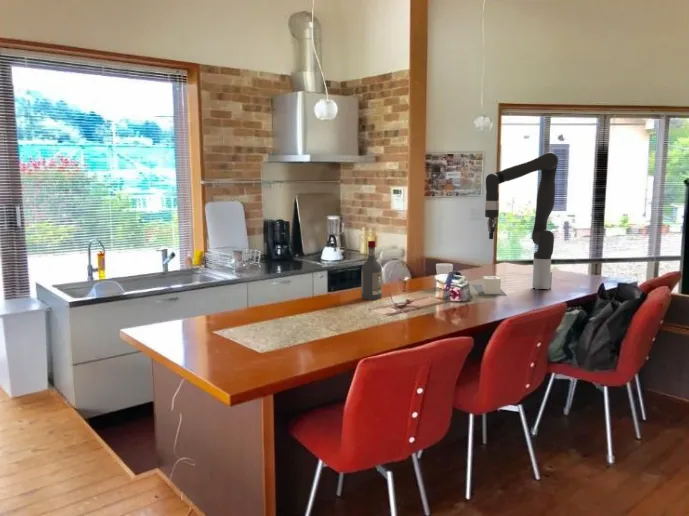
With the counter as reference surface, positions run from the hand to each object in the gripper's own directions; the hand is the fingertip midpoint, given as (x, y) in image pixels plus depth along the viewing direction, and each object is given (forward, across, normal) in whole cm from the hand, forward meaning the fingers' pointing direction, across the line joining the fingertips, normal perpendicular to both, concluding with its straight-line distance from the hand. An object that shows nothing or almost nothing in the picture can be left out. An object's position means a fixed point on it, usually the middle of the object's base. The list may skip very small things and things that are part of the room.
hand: (491, 238), depth 335 cm
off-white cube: (+18, -24, +4) cm, 30 cm away
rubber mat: (+27, -16, +4) cm, 31 cm away
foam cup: (+27, -8, +27) cm, 39 cm away
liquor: (+27, -39, +68) cm, 83 cm away
